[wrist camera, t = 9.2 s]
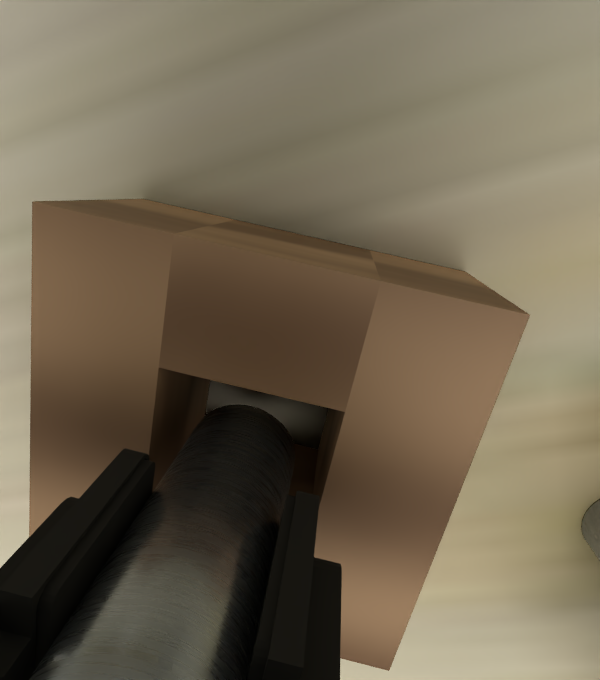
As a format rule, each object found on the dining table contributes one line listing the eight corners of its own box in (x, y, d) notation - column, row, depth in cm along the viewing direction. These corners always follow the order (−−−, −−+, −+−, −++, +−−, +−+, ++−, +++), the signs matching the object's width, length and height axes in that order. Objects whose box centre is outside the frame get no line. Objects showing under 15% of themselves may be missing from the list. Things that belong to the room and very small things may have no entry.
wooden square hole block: (142, 198, 16) (32, 201, 11) (465, 271, 16) (530, 314, 10) (118, 470, 20) (28, 578, 15) (377, 534, 20) (389, 670, 14)
